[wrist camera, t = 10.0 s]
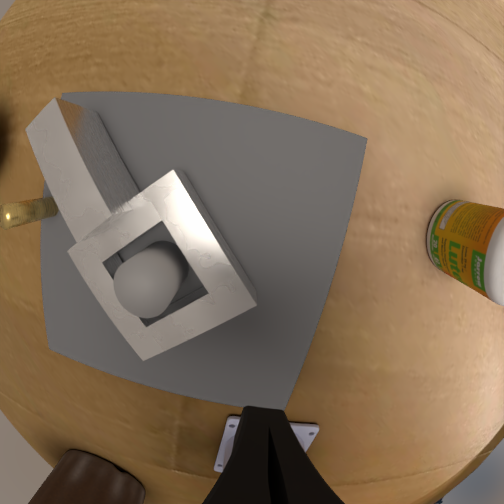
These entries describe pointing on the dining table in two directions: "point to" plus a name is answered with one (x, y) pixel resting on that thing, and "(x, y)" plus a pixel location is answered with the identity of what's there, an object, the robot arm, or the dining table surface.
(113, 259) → the square nut with handle
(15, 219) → the dowel
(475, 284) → the supplement bottle
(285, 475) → the robot arm
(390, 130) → the dining table surface
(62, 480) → the plant pot
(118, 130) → the base
